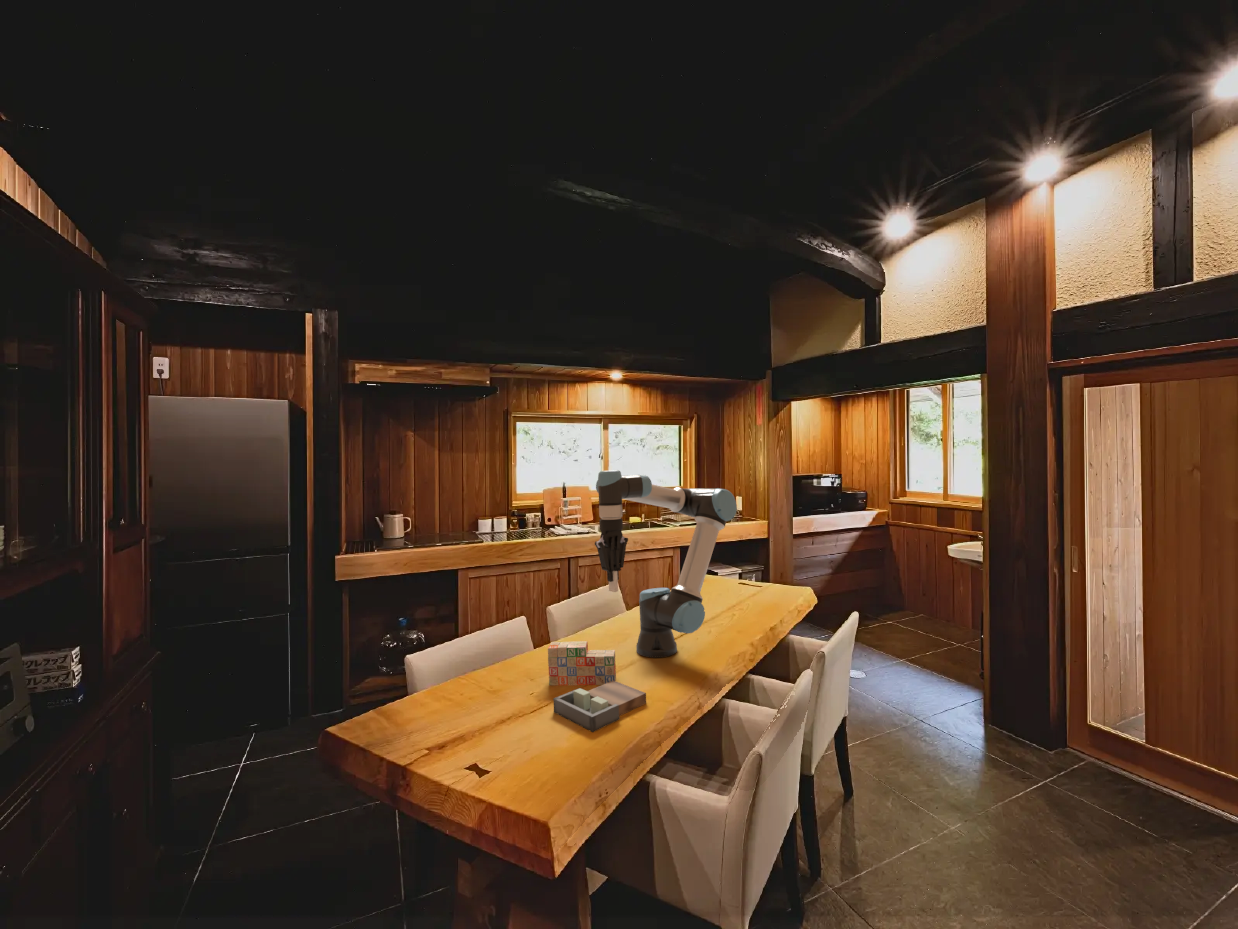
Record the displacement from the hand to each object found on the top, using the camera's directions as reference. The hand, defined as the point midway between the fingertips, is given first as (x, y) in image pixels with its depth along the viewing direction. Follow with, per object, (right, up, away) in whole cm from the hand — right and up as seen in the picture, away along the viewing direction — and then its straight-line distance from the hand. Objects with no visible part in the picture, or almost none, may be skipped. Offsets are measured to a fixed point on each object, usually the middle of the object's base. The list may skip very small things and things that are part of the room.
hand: (613, 591), depth 176 cm
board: (+1, -29, -16) cm, 33 cm away
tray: (-7, -30, -23) cm, 38 cm away
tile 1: (-8, -27, -18) cm, 33 cm away
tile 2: (-3, -27, -24) cm, 36 cm away
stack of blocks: (-10, -30, +2) cm, 32 cm away
